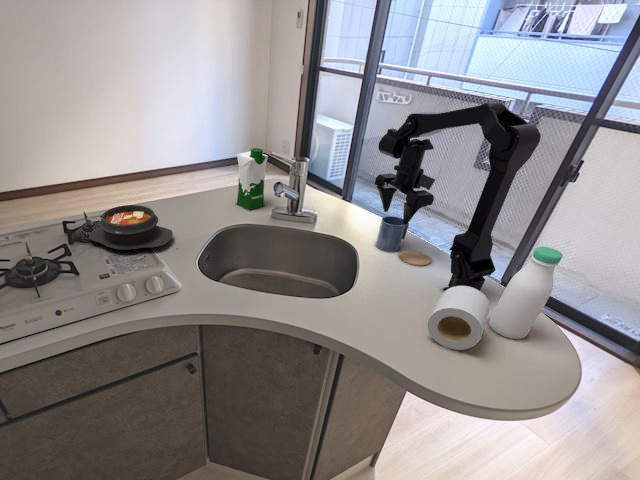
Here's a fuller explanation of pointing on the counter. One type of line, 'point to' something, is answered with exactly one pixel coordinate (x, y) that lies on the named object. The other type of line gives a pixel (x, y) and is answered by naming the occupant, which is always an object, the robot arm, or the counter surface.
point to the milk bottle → (526, 295)
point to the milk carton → (251, 178)
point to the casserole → (130, 229)
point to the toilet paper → (459, 317)
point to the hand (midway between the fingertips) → (395, 217)
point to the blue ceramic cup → (391, 233)
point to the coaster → (414, 258)
